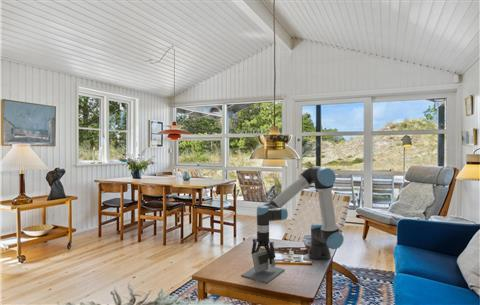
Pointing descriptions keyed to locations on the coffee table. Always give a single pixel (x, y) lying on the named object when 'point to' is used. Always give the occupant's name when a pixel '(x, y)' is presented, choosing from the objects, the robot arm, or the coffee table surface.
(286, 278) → the coffee table surface
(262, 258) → the digital clock
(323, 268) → the coffee table surface
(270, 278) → the mat
